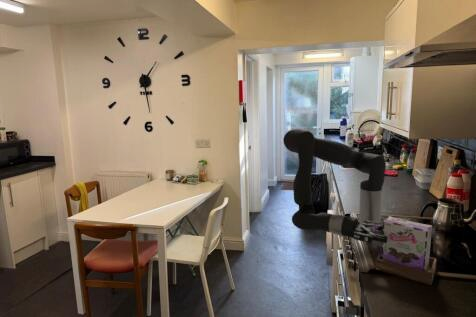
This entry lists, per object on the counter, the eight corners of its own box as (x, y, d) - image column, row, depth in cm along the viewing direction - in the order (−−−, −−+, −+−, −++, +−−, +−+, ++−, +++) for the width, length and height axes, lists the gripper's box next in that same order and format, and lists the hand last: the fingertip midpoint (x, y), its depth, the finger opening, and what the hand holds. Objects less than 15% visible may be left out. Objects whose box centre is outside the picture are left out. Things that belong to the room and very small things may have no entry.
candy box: (380, 264, 114) (382, 220, 111) (386, 258, 118) (388, 215, 115) (423, 278, 104) (427, 230, 101) (428, 271, 109) (432, 224, 105)
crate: (383, 256, 121) (383, 246, 120) (435, 269, 111) (436, 258, 110) (375, 269, 112) (375, 259, 111) (431, 285, 102) (432, 273, 101)
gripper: (337, 222, 116) (385, 232, 106) (349, 210, 127) (394, 218, 118) (336, 242, 117) (384, 253, 108) (349, 228, 129) (393, 237, 119)
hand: (389, 235), depth 113 cm, fingers open, 8 cm apart
